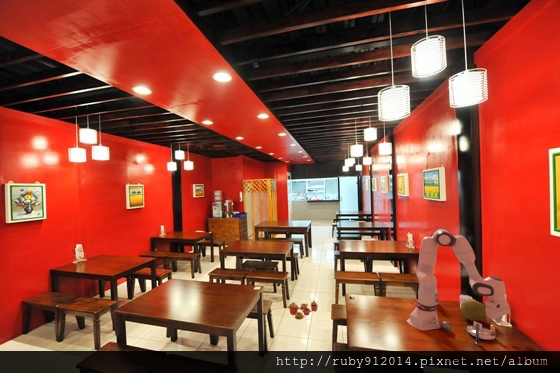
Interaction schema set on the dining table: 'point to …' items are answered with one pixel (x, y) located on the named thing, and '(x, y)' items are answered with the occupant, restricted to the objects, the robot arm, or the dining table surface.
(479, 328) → the dial stand
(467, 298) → the mug
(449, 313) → the dining table surface
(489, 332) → the turntable
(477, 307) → the fruit
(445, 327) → the grey rounded lump
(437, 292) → the milk bottle
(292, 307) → the toy tea set
